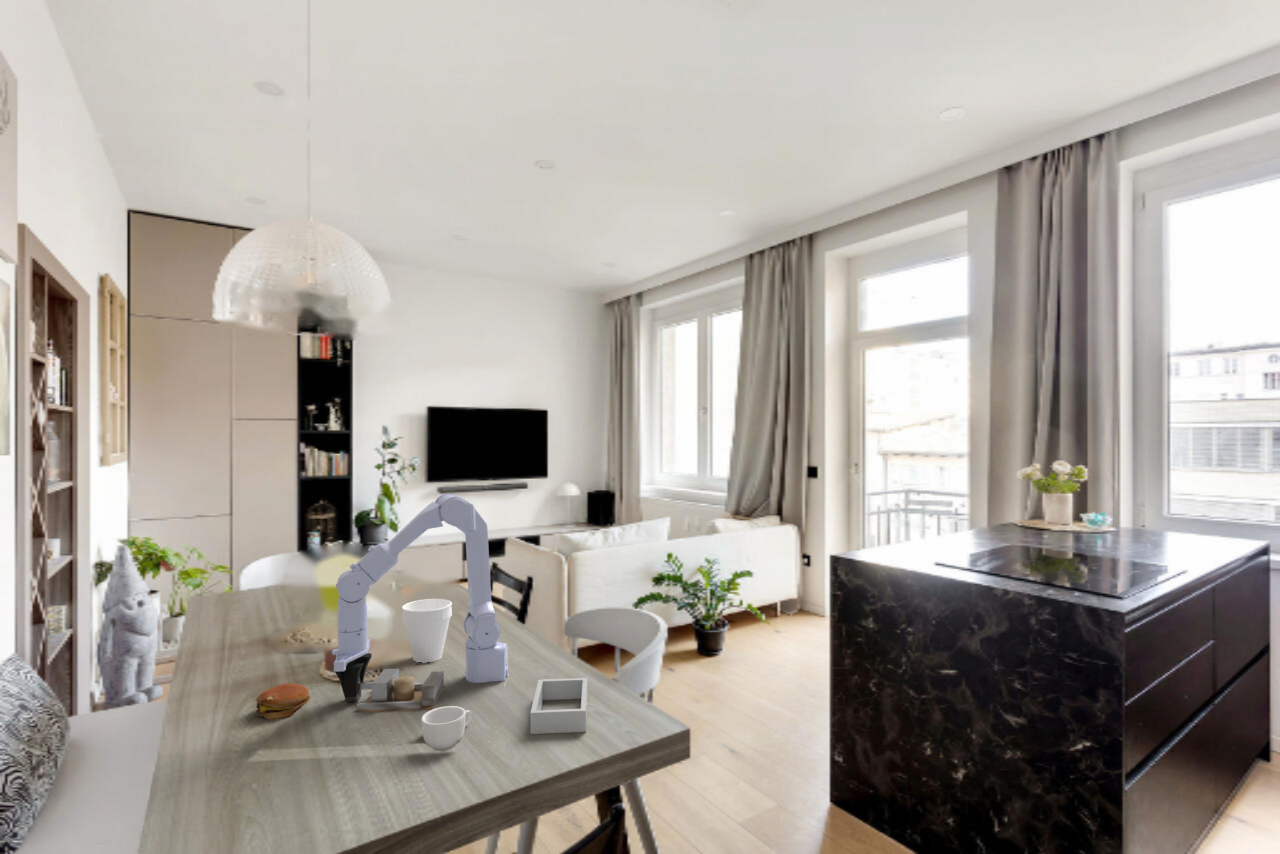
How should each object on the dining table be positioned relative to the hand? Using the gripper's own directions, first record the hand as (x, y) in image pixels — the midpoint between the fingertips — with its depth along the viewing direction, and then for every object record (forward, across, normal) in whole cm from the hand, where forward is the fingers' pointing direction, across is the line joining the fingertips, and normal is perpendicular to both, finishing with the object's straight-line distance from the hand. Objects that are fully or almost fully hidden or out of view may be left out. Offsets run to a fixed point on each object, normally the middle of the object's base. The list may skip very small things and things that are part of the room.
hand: (353, 693), depth 134 cm
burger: (+3, 0, -14) cm, 15 cm away
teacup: (+3, +17, +24) cm, 29 cm away
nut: (+1, 0, +10) cm, 11 cm away
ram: (+1, 0, +4) cm, 4 cm away
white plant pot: (+3, -29, +8) cm, 30 cm away
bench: (+3, 0, +10) cm, 11 cm away
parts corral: (+3, +7, +44) cm, 44 cm away
